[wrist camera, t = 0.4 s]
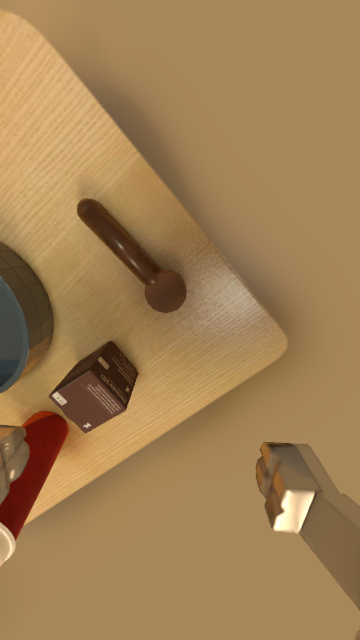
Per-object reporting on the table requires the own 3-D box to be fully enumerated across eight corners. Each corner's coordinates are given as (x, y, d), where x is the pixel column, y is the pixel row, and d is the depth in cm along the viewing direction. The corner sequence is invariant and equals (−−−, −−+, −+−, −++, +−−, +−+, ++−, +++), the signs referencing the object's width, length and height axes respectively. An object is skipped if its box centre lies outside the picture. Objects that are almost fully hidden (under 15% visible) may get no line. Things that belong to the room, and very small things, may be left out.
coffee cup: (21, 399, 33) (-99, 521, 19) (79, 411, 33) (5, 537, 19) (19, 442, 35) (-87, 577, 21) (73, 453, 36) (4, 590, 22)
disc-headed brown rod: (71, 219, 25) (60, 217, 23) (99, 187, 24) (90, 181, 22) (165, 315, 28) (164, 321, 26) (193, 290, 27) (194, 295, 25)
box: (139, 373, 31) (128, 411, 24) (105, 393, 32) (85, 435, 25) (111, 339, 30) (90, 369, 23) (76, 361, 31) (46, 397, 24)
